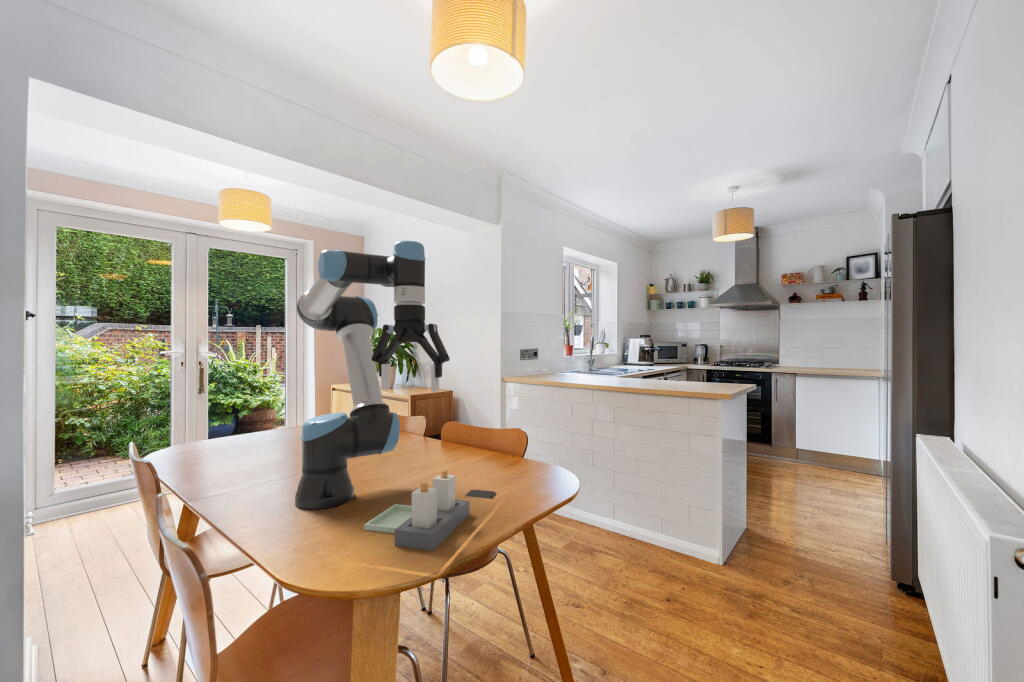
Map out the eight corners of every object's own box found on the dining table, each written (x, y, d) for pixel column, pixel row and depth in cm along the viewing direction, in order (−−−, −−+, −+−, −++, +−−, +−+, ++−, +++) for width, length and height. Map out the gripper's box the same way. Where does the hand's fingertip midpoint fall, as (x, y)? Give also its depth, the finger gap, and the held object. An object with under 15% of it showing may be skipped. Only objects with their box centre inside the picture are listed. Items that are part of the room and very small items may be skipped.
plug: (411, 539, 95) (411, 486, 95) (420, 531, 98) (420, 480, 99) (428, 541, 94) (428, 487, 94) (436, 533, 97) (436, 481, 97)
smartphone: (478, 515, 111) (496, 494, 127) (478, 512, 111) (496, 491, 127) (449, 512, 113) (471, 492, 129) (449, 509, 113) (471, 489, 129)
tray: (364, 532, 101) (364, 524, 101) (395, 511, 114) (394, 504, 114) (400, 536, 98) (399, 528, 98) (427, 514, 111) (427, 507, 111)
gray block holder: (394, 548, 93) (394, 489, 93) (436, 513, 112) (436, 464, 112) (433, 553, 90) (433, 492, 90) (469, 516, 109) (469, 466, 109)
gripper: (356, 305, 108) (357, 391, 108) (449, 301, 102) (450, 393, 101) (374, 307, 116) (374, 388, 116) (462, 304, 109) (462, 390, 109)
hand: (410, 390), depth 108 cm, fingers open, 13 cm apart
